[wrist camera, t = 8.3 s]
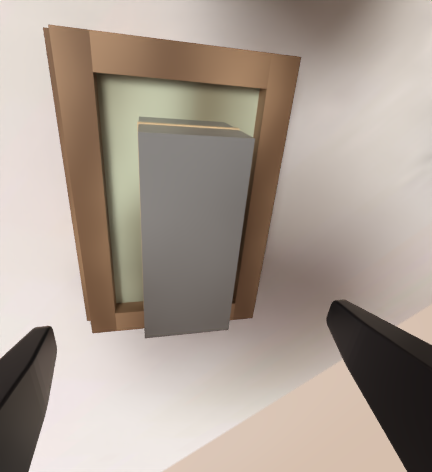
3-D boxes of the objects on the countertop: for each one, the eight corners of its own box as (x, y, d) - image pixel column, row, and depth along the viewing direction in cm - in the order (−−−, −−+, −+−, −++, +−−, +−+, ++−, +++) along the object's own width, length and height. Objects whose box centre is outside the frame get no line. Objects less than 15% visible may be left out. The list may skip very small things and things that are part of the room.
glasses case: (224, 121, 16) (256, 137, 11) (210, 276, 20) (229, 330, 16) (138, 115, 15) (136, 130, 10) (143, 280, 19) (143, 339, 15)
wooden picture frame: (283, 61, 17) (310, 58, 14) (245, 290, 24) (258, 317, 22) (55, 33, 14) (34, 22, 11) (91, 301, 22) (84, 333, 19)
